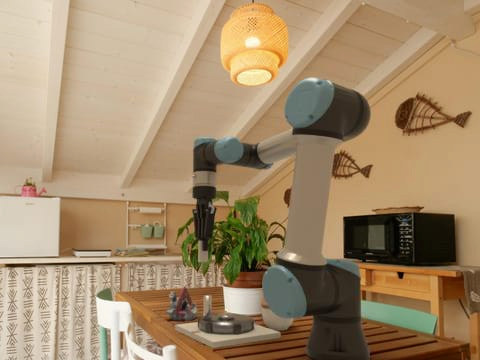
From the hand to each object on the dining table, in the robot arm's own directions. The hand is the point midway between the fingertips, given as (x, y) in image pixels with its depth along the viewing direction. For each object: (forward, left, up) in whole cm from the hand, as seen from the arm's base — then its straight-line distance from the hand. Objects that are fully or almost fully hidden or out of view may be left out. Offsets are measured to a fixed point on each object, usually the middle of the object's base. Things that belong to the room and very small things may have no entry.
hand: (202, 261), depth 127 cm
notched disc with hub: (-7, -5, -19) cm, 20 cm away
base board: (-7, -5, -21) cm, 22 cm away
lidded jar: (-9, -23, -21) cm, 32 cm away
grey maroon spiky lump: (+20, -3, -21) cm, 29 cm away
